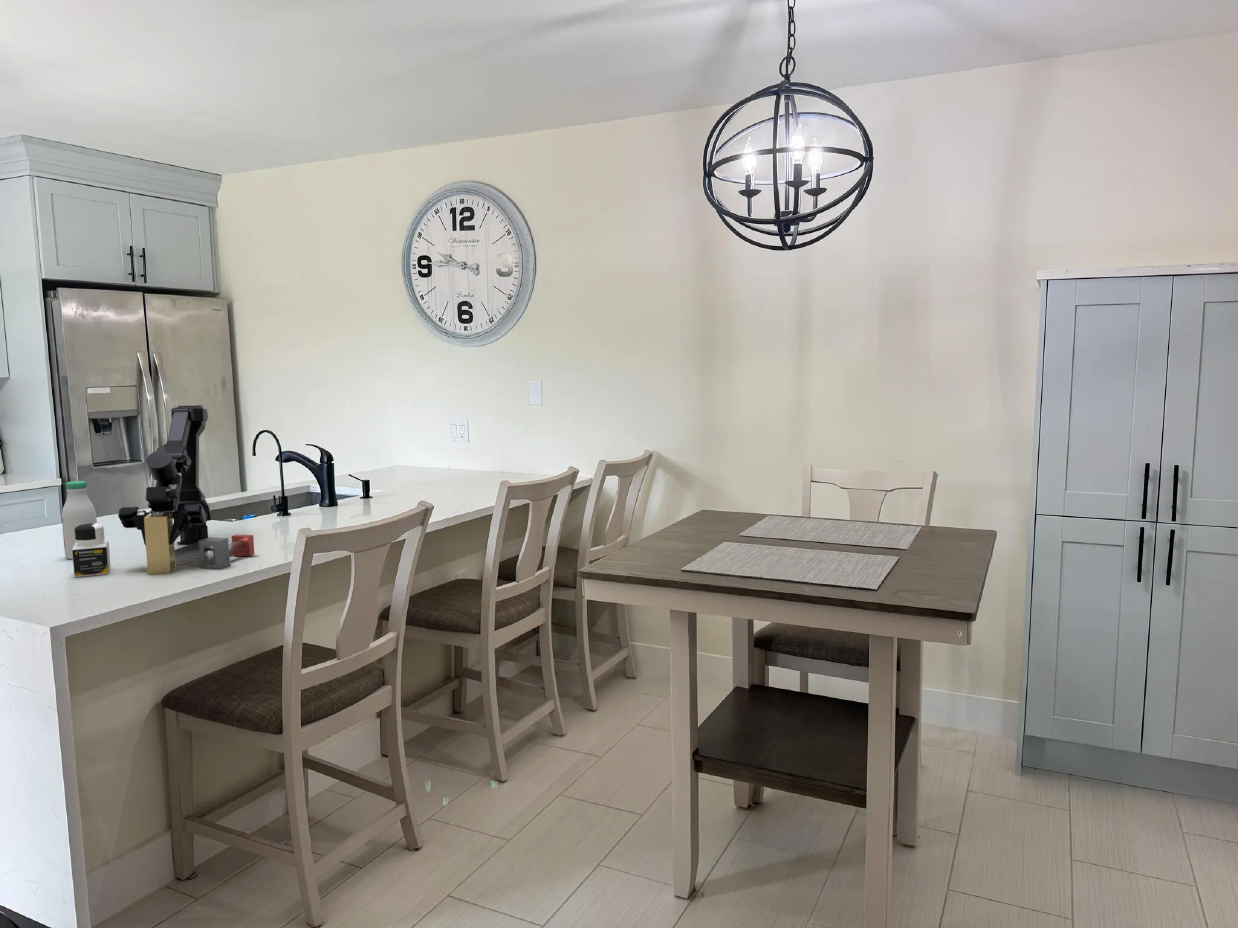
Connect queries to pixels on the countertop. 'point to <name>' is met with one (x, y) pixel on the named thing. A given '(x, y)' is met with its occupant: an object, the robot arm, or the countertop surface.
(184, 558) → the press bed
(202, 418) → the robot arm
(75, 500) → the milk bottle
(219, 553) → the block
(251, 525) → the countertop surface
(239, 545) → the ram handle
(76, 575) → the medicine bottle
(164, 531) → the tan wooden block
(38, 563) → the countertop surface
